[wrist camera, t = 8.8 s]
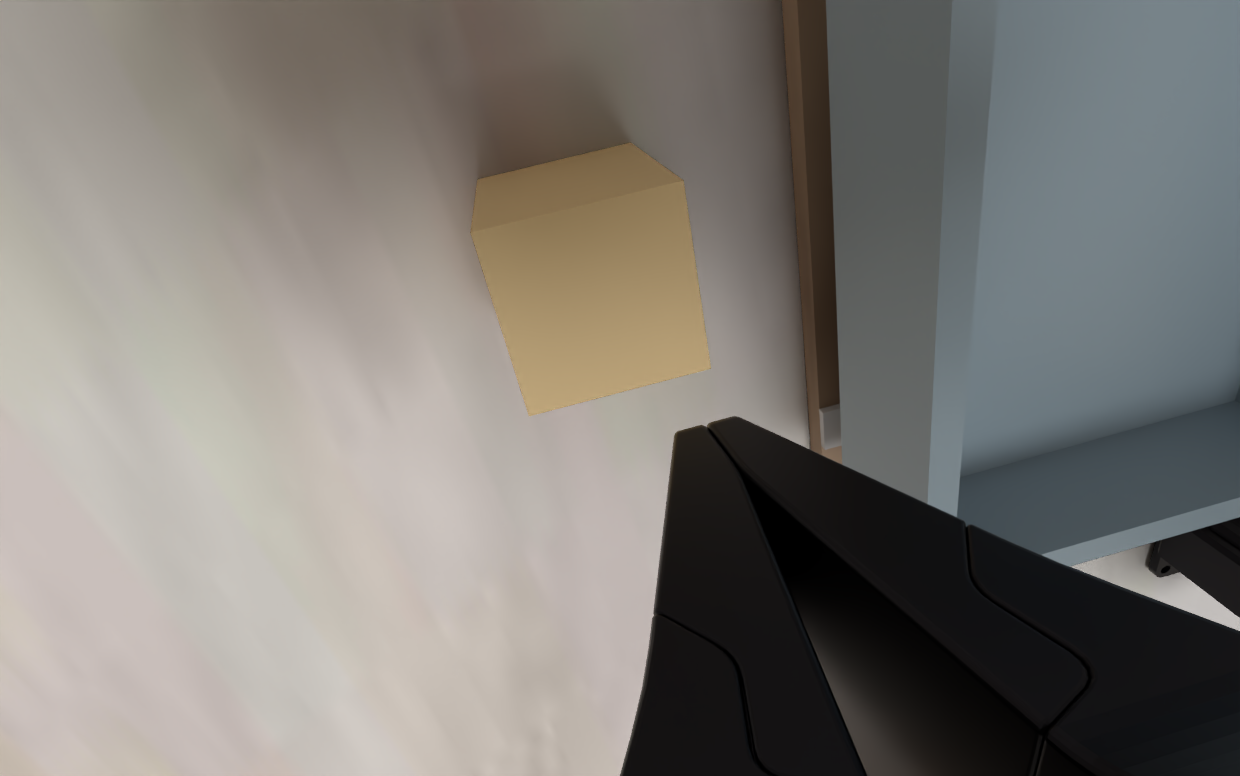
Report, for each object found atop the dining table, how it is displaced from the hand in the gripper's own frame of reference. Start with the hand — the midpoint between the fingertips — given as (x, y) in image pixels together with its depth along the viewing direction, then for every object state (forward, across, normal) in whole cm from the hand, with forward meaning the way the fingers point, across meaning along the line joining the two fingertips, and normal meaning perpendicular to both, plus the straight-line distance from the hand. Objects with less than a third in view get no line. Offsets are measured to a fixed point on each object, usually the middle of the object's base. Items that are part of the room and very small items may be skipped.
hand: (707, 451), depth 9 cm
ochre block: (+12, 0, 0) cm, 13 cm away
